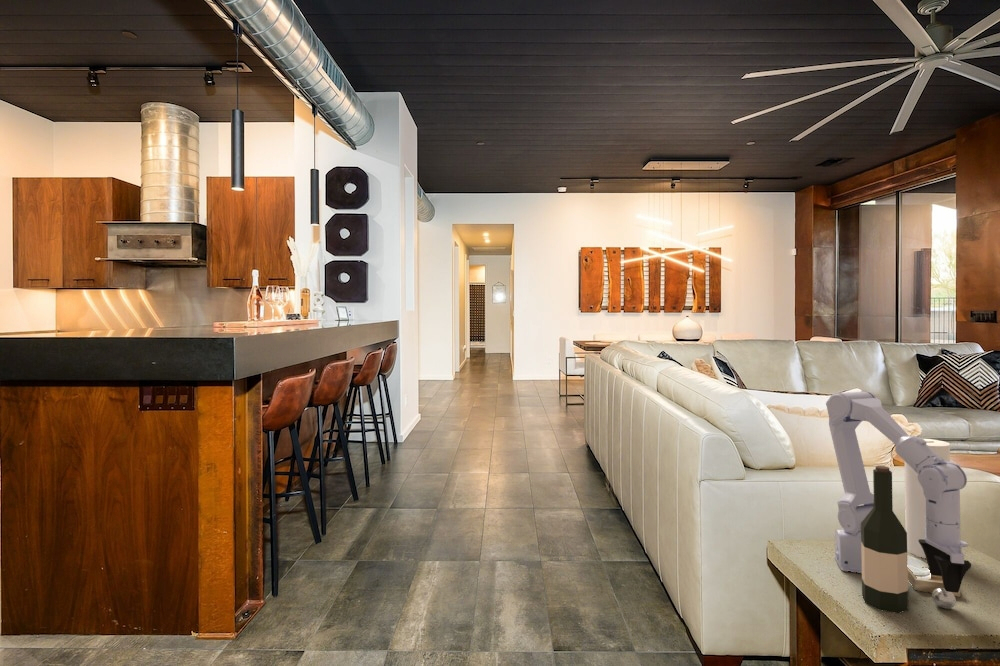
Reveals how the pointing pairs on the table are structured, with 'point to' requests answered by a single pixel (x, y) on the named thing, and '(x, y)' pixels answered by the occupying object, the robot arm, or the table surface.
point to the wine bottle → (884, 550)
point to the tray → (927, 583)
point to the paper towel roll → (919, 501)
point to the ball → (943, 598)
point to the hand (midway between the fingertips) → (944, 582)
